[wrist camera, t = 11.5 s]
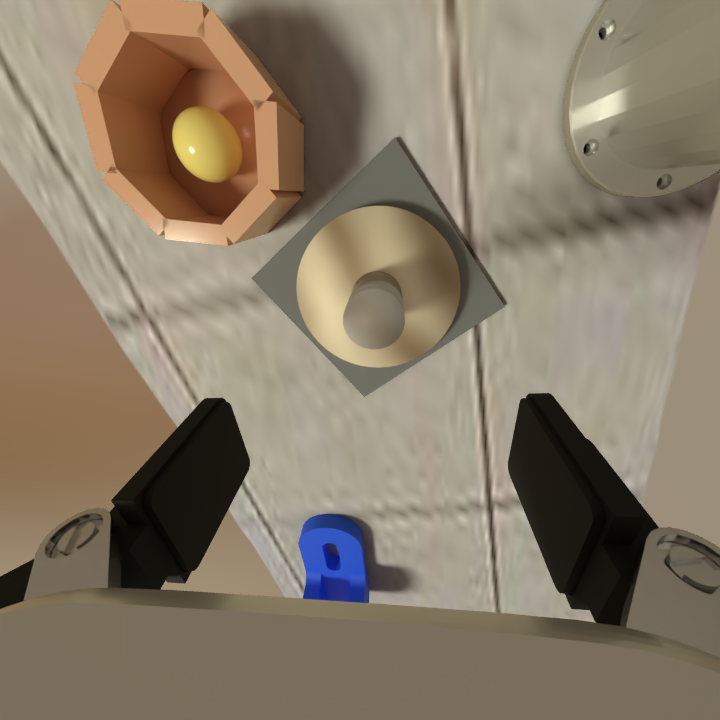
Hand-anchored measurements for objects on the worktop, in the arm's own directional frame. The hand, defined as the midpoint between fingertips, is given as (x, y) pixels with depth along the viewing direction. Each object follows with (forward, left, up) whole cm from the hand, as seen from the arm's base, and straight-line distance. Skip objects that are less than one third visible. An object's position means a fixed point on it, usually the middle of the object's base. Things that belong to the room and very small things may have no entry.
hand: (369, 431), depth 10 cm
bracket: (+29, +26, -18) cm, 43 cm away
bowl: (+2, -15, -18) cm, 23 cm away
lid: (0, 0, -18) cm, 18 cm away
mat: (0, 0, -18) cm, 18 cm away
